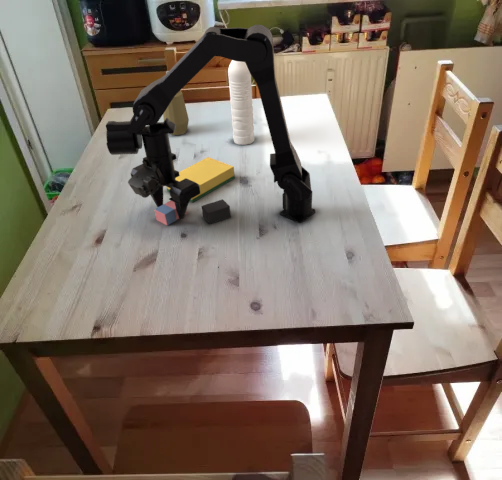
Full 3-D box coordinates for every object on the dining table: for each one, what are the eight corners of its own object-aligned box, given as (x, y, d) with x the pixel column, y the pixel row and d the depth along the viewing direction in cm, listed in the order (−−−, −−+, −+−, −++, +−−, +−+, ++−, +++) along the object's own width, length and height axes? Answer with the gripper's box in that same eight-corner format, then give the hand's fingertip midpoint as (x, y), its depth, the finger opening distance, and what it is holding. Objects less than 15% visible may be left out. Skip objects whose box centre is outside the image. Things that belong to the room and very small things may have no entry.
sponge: (209, 168, 132) (208, 156, 130) (234, 178, 127) (233, 166, 125) (167, 191, 124) (164, 179, 122) (192, 202, 119) (190, 190, 117)
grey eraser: (224, 209, 116) (222, 198, 114) (230, 217, 114) (229, 206, 111) (203, 216, 114) (201, 205, 112) (209, 224, 112) (208, 213, 110)
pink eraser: (176, 209, 118) (173, 198, 115) (186, 214, 116) (184, 203, 113) (156, 220, 114) (153, 209, 112) (167, 225, 112) (164, 214, 110)
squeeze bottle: (162, 130, 153) (151, 70, 140) (185, 125, 155) (176, 65, 142) (170, 139, 148) (159, 77, 135) (193, 133, 150) (185, 72, 137)
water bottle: (255, 144, 141) (250, 51, 124) (234, 146, 141) (226, 54, 123) (252, 132, 148) (247, 43, 130) (232, 134, 147) (224, 45, 129)
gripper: (104, 154, 104) (122, 215, 115) (157, 178, 95) (171, 241, 106) (143, 137, 109) (156, 197, 120) (196, 157, 100) (206, 220, 111)
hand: (171, 213), depth 114 cm, fingers open, 8 cm apart
